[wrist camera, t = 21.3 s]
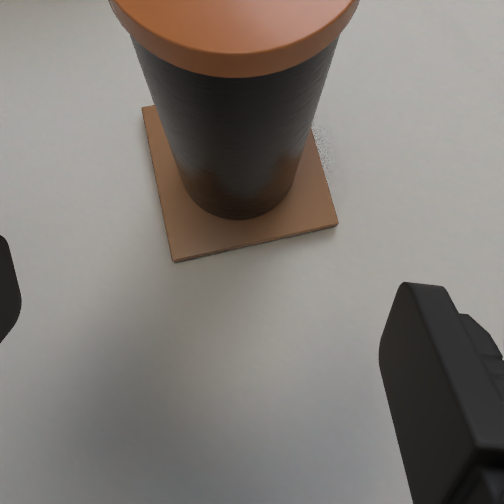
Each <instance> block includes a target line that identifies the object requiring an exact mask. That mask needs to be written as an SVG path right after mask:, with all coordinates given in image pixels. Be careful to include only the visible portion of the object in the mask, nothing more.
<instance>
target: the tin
mask: <svg viewBox="0 0 504 504" xmlns="http://www.w3.org/2000/svg"><path fill="white" fill-rule="evenodd" d="M108 1H109V3H110V6H111V8H112V10H113V12H114V14H115V15H116V17H117V18H118V20H119V21H120V23H121V25H122V26H123V27H124V28H125V29H126V30H127V32H128V33H129V34H130V37H131V40H132V42H133V45H134V48H135V51H136V54H137V56H138V59H139V62H140V65H141V68H142V70H143V73H144V76H145V79H146V82H147V84H148V87H149V90H150V93H151V96H152V99H153V101H154V104H155V107H156V110H157V113H158V115H159V118H160V121H161V124H162V127H163V129H164V132H165V135H166V138H167V141H168V143H169V146H170V149H171V152H172V155H173V158H174V160H175V163H176V166H177V169H178V172H179V174H180V177H181V180H182V183H183V185H184V187H185V190H186V191H187V193H188V195H189V196H190V197H191V199H192V200H193V201H194V202H195V203H196V204H197V205H198V206H199V207H200V208H202V209H203V210H205V211H206V212H208V213H210V214H212V215H214V216H217V217H220V218H224V219H229V220H247V219H252V218H256V217H259V216H261V215H264V214H266V213H268V212H269V211H271V210H272V209H274V208H275V207H276V206H278V205H279V204H280V203H281V202H282V201H283V199H284V198H285V197H286V195H287V194H288V192H289V190H290V189H291V186H292V184H293V181H294V178H295V175H296V172H297V168H298V165H299V162H300V159H301V156H302V153H303V149H304V146H305V143H306V140H307V137H308V134H309V131H310V127H311V124H312V121H313V118H314V115H315V112H316V108H317V105H318V102H319V99H320V96H321V93H322V89H323V86H324V83H325V80H326V77H327V74H328V70H329V67H330V64H331V61H332V58H333V55H334V51H335V48H336V45H337V42H338V39H339V36H340V33H341V32H342V31H343V29H344V28H345V27H346V26H347V24H348V23H349V21H350V20H351V18H352V16H353V14H354V13H355V11H356V9H357V6H358V4H359V1H360V0H108Z"/></svg>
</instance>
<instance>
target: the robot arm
mask: <svg viewBox="0 0 504 504" xmlns="http://www.w3.org/2000/svg"><path fill="white" fill-rule="evenodd" d="M20 310H21V293H20V289H19V285H18V281H17V277H16V273H15V269H14V265H13V261H12V257H11V253H10V249H9V245H8V243H7V241H6V240H5V238H4V237H2V236H0V343H1V342H2V340H3V339H4V338H5V337H6V335H7V334H8V333H9V332H10V330H11V329H12V328H13V326H14V325H15V323H16V322H17V319H18V317H19V314H20ZM502 357H503V356H502V354H501V352H500V351H499V349H498V347H497V346H496V344H495V342H494V341H493V339H492V337H491V335H490V334H489V333H488V332H487V331H486V330H485V329H484V328H482V327H481V326H480V325H479V324H478V323H477V322H476V321H475V320H474V319H473V318H472V317H470V316H469V315H468V314H459V313H458V311H457V309H456V307H455V305H454V303H453V302H452V300H451V298H450V296H449V294H448V292H447V290H446V289H445V288H444V287H443V286H436V285H428V284H419V283H410V282H403V283H402V284H401V285H400V286H399V288H398V290H397V293H396V296H395V299H394V302H393V305H392V308H391V310H390V313H389V316H388V319H387V322H386V325H385V328H384V331H383V334H382V337H381V340H380V346H379V367H380V371H381V375H382V379H383V384H384V388H385V392H386V396H387V400H388V404H389V408H390V412H391V416H392V420H393V424H394V428H395V432H396V436H397V440H398V444H399V448H400V452H401V456H402V460H403V464H404V468H405V472H406V476H407V480H408V484H409V488H410V492H411V496H412V500H413V504H504V361H503V360H502Z"/></svg>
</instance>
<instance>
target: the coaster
mask: <svg viewBox="0 0 504 504" xmlns="http://www.w3.org/2000/svg"><path fill="white" fill-rule="evenodd" d="M142 113H143V118H144V123H145V128H146V133H147V138H148V143H149V148H150V153H151V158H152V163H153V168H154V173H155V178H156V183H157V188H158V193H159V198H160V202H161V207H162V212H163V217H164V222H165V227H166V232H167V237H168V242H169V247H170V252H171V257H172V261H173V262H179V261H184V260H188V259H193V258H197V257H202V256H206V255H211V254H215V253H219V252H224V251H228V250H233V249H237V248H242V247H246V246H250V245H255V244H259V243H264V242H268V241H273V240H277V239H282V238H286V237H290V236H295V235H299V234H304V233H308V232H313V231H317V230H322V229H326V228H330V227H335V226H337V225H338V223H339V222H338V219H337V215H336V212H335V209H334V205H333V202H332V198H331V195H330V191H329V188H328V185H327V181H326V178H325V174H324V171H323V167H322V164H321V160H320V157H319V154H318V150H317V147H316V143H315V140H314V136H313V133H312V129H311V127H310V131H309V134H308V137H307V140H306V143H305V146H304V149H303V153H302V156H301V159H300V162H299V165H298V168H297V172H296V175H295V178H294V181H293V184H292V186H291V189H290V190H289V192H288V194H287V195H286V197H285V198H284V199H283V201H282V202H281V203H280V204H279V205H278V206H276V207H275V208H274V209H272V210H271V211H269V212H268V213H266V214H264V215H261V216H259V217H256V218H252V219H247V220H229V219H224V218H220V217H217V216H214V215H212V214H210V213H208V212H206V211H205V210H203V209H202V208H200V207H199V206H198V205H197V204H196V203H195V202H194V201H193V200H192V199H191V197H190V196H189V195H188V193H187V191H186V190H185V187H184V185H183V183H182V180H181V177H180V174H179V172H178V169H177V166H176V163H175V160H174V158H173V155H172V152H171V149H170V146H169V143H168V141H167V138H166V135H165V132H164V129H163V127H162V124H161V121H160V118H159V115H158V113H157V110H156V107H155V105H152V106H147V107H142Z"/></svg>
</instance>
